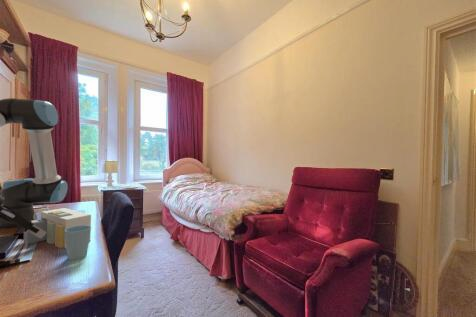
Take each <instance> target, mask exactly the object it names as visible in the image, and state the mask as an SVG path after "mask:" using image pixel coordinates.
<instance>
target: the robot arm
mask: <svg viewBox="0 0 476 317" xmlns="http://www.w3.org/2000/svg"><path fill="white" fill-rule="evenodd" d="M58 123H59V114H58V111H57V109H56V107H55V106H54V104H52V102H49V101H47V100H40V99H28V98H27V99H25V98H23V99H22V98H11V97H10V98H2V99H0V128H2V127H4V126H5V125H8V124H18V125H19V124H20V125H21V126H22V127H21V128H22V130H24V131H26V132H27V136H28V143H29V147H30V154H31V158H32V163H33V170H34V176H35V177H34V178H32V177H31V178H21V179H14V180H12V179H11V180H7V181H4V182H3V183H2V187H1V194H0V228H3V229H5V228H16V227H18V228H21V229H23V233H24V232H26V231H28V232H30V233H32V234H33V235H35V236H37V237H39V238H42V237H43V236H44V235H45V234H46V233H47V232H46V231H44V230H42V229H40V228H39V227H37V226H35V225H34V224H33V223H31V222H32V221H33V220H34V219H33V215H34V213H35V212H36V210H35V209H34V204H55V203H60V202H62V201H64V199H65V198H66V195H67V193H68V189H69V188H68V187H69V186H68V182H67V181H65V180H62V176H61V175H59V174H58V172H57V171H58V170H57V165H56V158H55V152H54V151H55V150H54V146H53V145H54V144H53V139H52V133H51V132H52V131H53V130H54V129H55V126H56V125H57V124H58ZM35 216H36V220H38V216H37V214H36V215H35ZM24 229H25V230H24Z"/></svg>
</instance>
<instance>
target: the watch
mask: <svg viewBox="0 0 476 317" xmlns="http://www.w3.org/2000/svg"><path fill="white" fill-rule="evenodd" d="M48 210H52V209H51V208H50V207H49V208H47V207H42V208H39V209H37V210H35V213H34V215H33V219H34V220H36V216H37V214H38V213H39V212H42V211H48ZM35 215H36V216H35Z"/></svg>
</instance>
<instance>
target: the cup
mask: <svg viewBox="0 0 476 317" xmlns="http://www.w3.org/2000/svg"><path fill="white" fill-rule="evenodd" d="M91 230H92V226H88V225H81V226H74V227H70V228H67V229H66V230H65V238H66V247H67V248H66V254H67V255H66V256H67V259H68V260H70V261H77V260H81V259H83V258H85V257H87V255H88V249H89V244H90V243H89V242H90V241H89V237H90V238H91V234H90V231H91Z"/></svg>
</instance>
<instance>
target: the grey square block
mask: <svg viewBox="0 0 476 317" xmlns="http://www.w3.org/2000/svg"><path fill="white" fill-rule="evenodd" d="M31 223H33V224H34V225H35V226H37V227H39V228H40V229H42V230H44V231H46V232H47V219H42V220H41V219H37V220H33V221H32V222H31ZM23 230H25V229H23ZM45 240H46V241H47V233H46V234H45V235H44V236H43V237H42V238H39V237H37V236H35V235H33V234H32V233H30V232H28V231H26V232H24V231H23V243H24V244H26V245H30V244H34V243H38V242H43V241H45Z"/></svg>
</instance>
